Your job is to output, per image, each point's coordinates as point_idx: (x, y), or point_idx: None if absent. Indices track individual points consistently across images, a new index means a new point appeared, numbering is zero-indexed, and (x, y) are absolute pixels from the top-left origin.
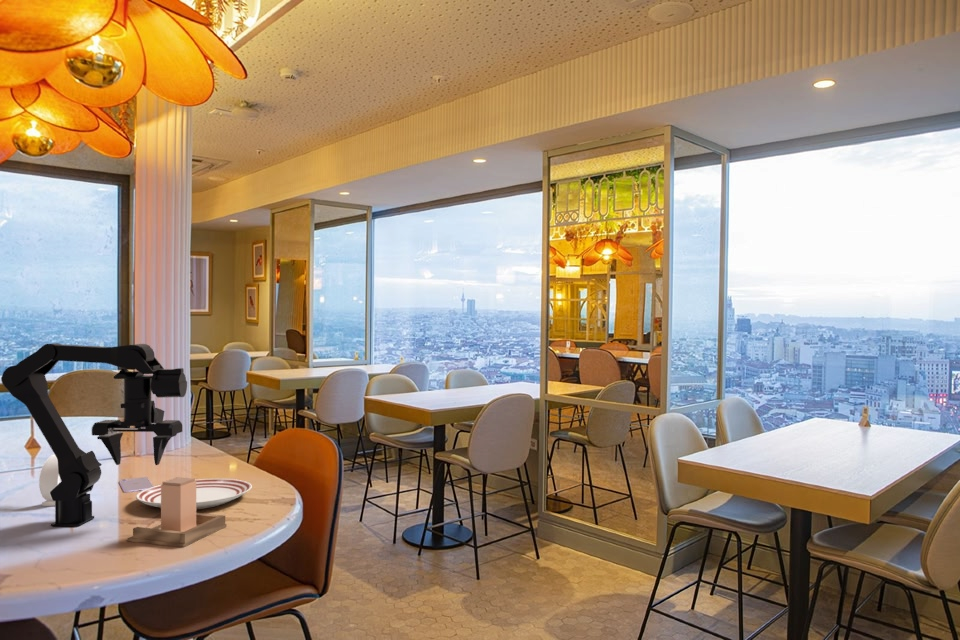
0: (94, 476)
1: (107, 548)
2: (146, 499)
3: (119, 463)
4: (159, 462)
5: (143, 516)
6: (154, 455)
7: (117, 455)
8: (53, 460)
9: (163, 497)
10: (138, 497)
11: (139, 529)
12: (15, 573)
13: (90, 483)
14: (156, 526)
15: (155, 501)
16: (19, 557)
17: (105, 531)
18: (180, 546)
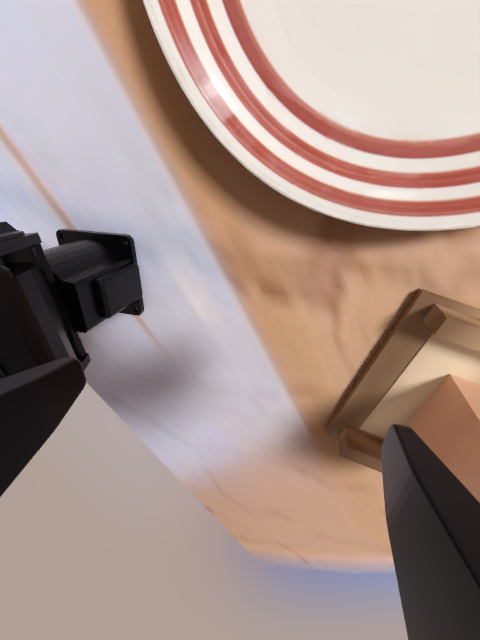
0: (42, 349)
1: (299, 455)
2: (208, 22)
3: (77, 370)
4: (418, 441)
5: (277, 216)
6: (406, 590)
7: (20, 435)
8: None
9: None
10: (183, 73)
11: (360, 463)
12: (211, 506)
13: (69, 356)
14: (375, 363)
15: (255, 11)
16: (169, 455)
17: (235, 354)
18: None
